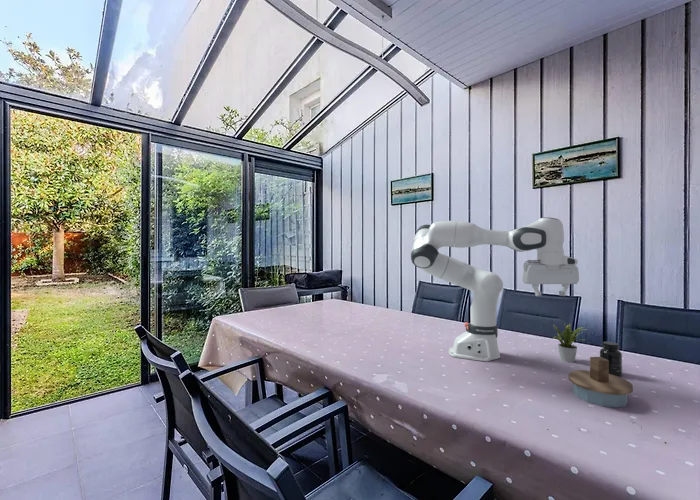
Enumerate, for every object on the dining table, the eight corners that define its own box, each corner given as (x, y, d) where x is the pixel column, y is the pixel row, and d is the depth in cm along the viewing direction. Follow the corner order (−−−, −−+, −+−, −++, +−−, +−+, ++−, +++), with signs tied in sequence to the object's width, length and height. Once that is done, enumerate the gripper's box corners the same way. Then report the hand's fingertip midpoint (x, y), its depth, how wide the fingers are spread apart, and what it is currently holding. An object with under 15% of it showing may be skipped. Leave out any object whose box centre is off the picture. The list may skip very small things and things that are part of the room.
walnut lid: (593, 395, 101) (593, 368, 101) (557, 374, 118) (557, 351, 118) (648, 394, 102) (648, 367, 102) (604, 373, 119) (604, 350, 119)
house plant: (597, 368, 135) (596, 328, 135) (559, 366, 138) (559, 326, 138) (580, 356, 149) (580, 320, 149) (546, 355, 152) (546, 319, 152)
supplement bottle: (595, 370, 133) (595, 340, 132) (611, 370, 133) (611, 340, 133) (610, 377, 126) (610, 345, 126) (626, 376, 126) (626, 345, 126)
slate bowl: (583, 404, 105) (583, 389, 105) (567, 386, 119) (567, 373, 119) (636, 409, 101) (636, 394, 101) (613, 390, 115) (613, 377, 115)
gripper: (528, 260, 124) (528, 297, 124) (581, 260, 125) (581, 296, 125) (519, 259, 130) (519, 294, 130) (570, 259, 131) (570, 294, 131)
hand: (550, 295), depth 128 cm, fingers open, 8 cm apart
